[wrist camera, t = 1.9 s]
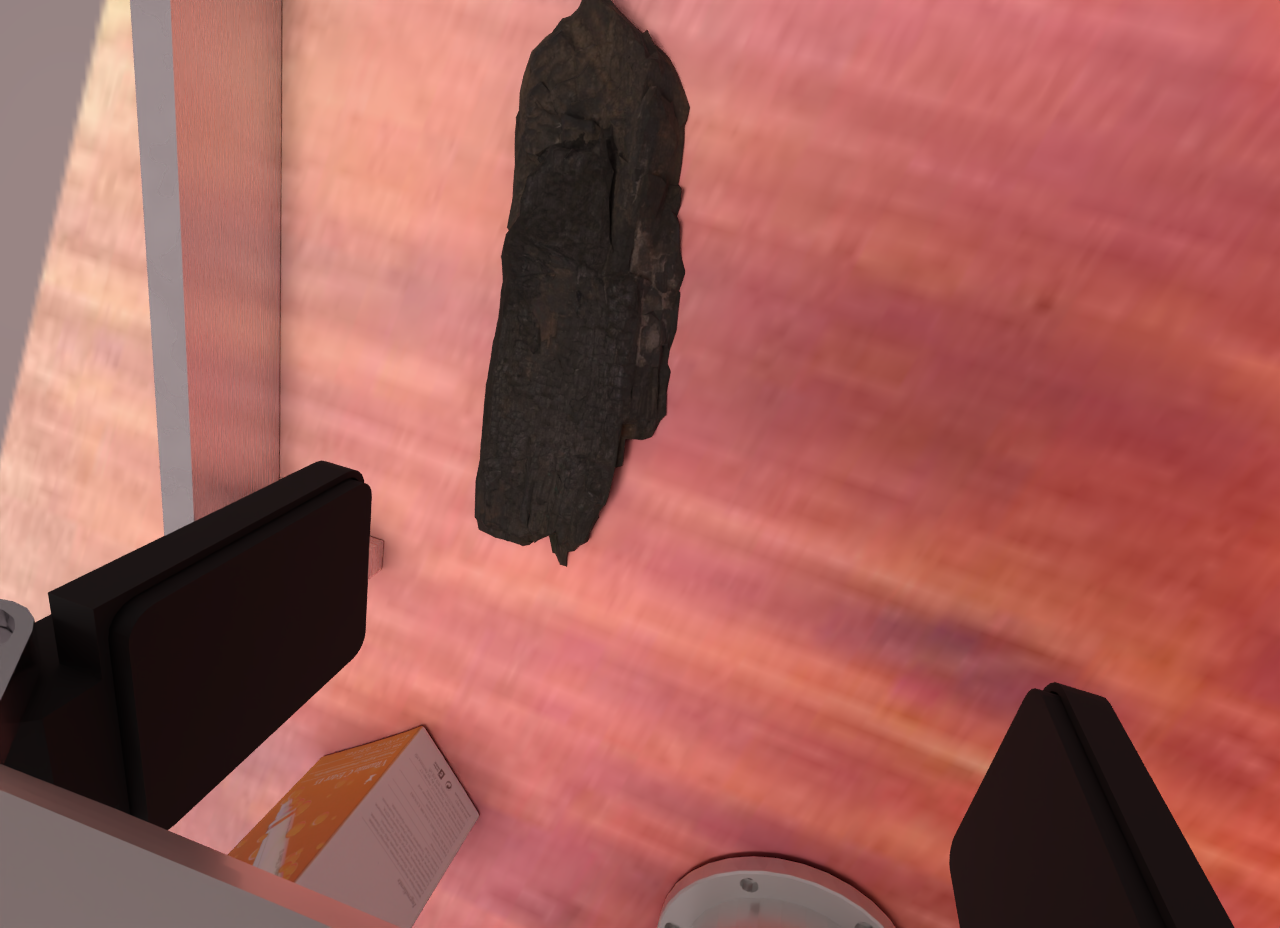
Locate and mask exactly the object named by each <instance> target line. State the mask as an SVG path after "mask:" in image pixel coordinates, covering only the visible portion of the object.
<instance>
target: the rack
mask: <svg viewBox="0 0 1280 928" xmlns="http://www.w3.org/2000/svg"><path fill="white" fill-rule="evenodd" d="M281 6H282V0H130V7H131V22H132V38H133V53H134V69H135V85H136V100H137V116H138V132H139V147H140V163H141V178H142V194H143V210H144V225H145V241H146V257H147V272H148V288H149V303H150V319H151V335H152V350H153V366H154V382H155V397H156V413H157V428H158V444H159V460H160V475H161V491H162V507H163V522H164V536H165V535H167V534H169V533H171V532H174V531H176V530H178V529H180V528H182V527H184V526H186V525H188V524H190V523H192V522H194V521H196V520H198V519H200V518H202V517H204V516H206V515H208V514H210V513H212V512H215V511H217V510H219V509H221V508H223V507H225V506H227V505H229V504H231V503H233V502H235V501H237V500H239V499H241V498H243V497H245V496H247V495H249V494H251V493H254V492H256V491H258V490H260V489H262V488H264V487H266V486H268V485H270V484H272V483H274V482H276V481H278V480H279V374H280V190H281ZM383 543H384V541H382V540H379V539H376V538H373V537H370V544H369V566H368V579H370V578H371V577H372V576H373V575H375V574H376V573H377V572H379V571H380V570H381V569H382V558H383Z"/></svg>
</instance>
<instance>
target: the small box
mask: <svg viewBox="0 0 1280 928" xmlns="http://www.w3.org/2000/svg"><path fill="white" fill-rule="evenodd" d="M478 818H479V814H478V812H477V810H476V809H475V807H474V805H473V803H472V802H471V800H470V799H469V797H468V796H467V794H466V792H465V791H464V789H463V787H462V786H461V784H460V783H459V781H458V779H457V778H456V776H455V775H454V773H453V772H452V770H451V768H450V767H449V765H448V763H447V762H446V760H445V759H444V757H443V755H442V754H441V752H440V751H439V749H438V748H437V746H436V745H435V743H434V742H433V740H432V738H431V737H430V735H429V734H428V732H427V731H426V729H425V728H424V727H423V726H420V727H417V728H415V729H412V730H410V731H407V732H404V733H401V734H398V735H395V736H392V737H389V738H385V739H382V740H379V741H376V742H373V743H369V744H366V745H363V746H359V747H355V748H352V749H348V750H345V751H341V752H338V753H334V754H331V755H327V756H323V757H322V758H321V759H320V760H319V761H318V762H317V763H316V764H315V765H314V766H313V767H312V768H311V769H310V770H309V771H308V772H307V773H306V774H305V775H304V776H303V777H302V778H301V779H300V780H299V781H298V782H297V783H296V784H295V785H294V786H293V787H292V789H291V790H290V791H289V792H288V793H287V794H286V795H285V796H284V797H283V798H282V799H281V800H280V801H279V802H278V803H277V804H276V805H275V806H274V807H273V808H272V809H271V810H270V811H269V812H268V813H267V815H266V816H265V817H264V818H263V819H262V820H261V821H260V822H259V823H258V824H257V825H256V826H255V827H254V828H253V829H252V830H251V831H250V832H249V833H248V834H247V835H246V836H245V837H244V838H243V839H242V840H241V841H240V842H239V843H238V845H237V846H236V847H235V848H234V849H233V850H232V851H231V852H230V853H229V854H228V856H231V857H233V858H235V859H238V860H240V861H243V862H245V863H247V864H250V865H252V866H255V867H257V868H260V869H262V870H264V871H267V872H269V873H272V874H274V875H276V876H279V877H281V878H284V879H286V880H289V881H291V882H293V883H296V884H298V885H301V886H303V887H305V888H308V889H310V890H313V891H315V892H317V893H320V894H322V895H325V896H327V897H330V898H332V899H334V900H337V901H339V902H341V903H344V904H346V905H349V906H351V907H353V908H356V909H358V910H361V911H363V912H365V913H368V914H370V915H372V916H375V917H377V918H380V919H382V920H384V921H387V922H389V923H391V924H394V925H396V926H399V927H401V928H412V926H413V925H414V923H415V921H416V920H417V918H418V916H419V915H420V913H421V911H422V910H423V908H424V906H425V905H426V903H427V901H428V900H429V898H430V896H431V895H432V893H433V891H434V890H435V888H436V886H437V885H438V883H439V881H440V880H441V878H442V876H443V875H444V873H445V872H446V870H447V868H448V867H449V865H450V863H451V862H452V860H453V858H454V857H455V855H456V854H457V852H458V850H459V849H460V847H461V845H462V844H463V842H464V840H465V839H466V837H467V835H468V834H469V832H470V831H471V829H472V827H473V826H474V824H475V823H476V821H477V819H478Z"/></svg>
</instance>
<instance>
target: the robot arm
mask: <svg viewBox="0 0 1280 928" xmlns="http://www.w3.org/2000/svg"><path fill="white" fill-rule="evenodd" d="M371 501H372V493H371V489H370V486H369V485H368V484H365V483H364V479H363V476H362V474H361V473H360V472H359V471H356V470H353V469H350V468H346V467H343V466H340V465H336V464H333V463H330V462H326V461H318V462H315V463H313V464H311V465H309V466H307V467H305V468H303V469H301V470H299V471H297V472H295V473H292V474H290V475H288V476H286V477H284V478H282V479H280V480H278V481H276V482H274V483H272V484H270V485H268V486H266V487H264V488H262V489H260V490H258V491H256V492H254V493H251V494H249V495H247V496H245V497H243V498H241V499H239V500H237V501H235V502H233V503H231V504H229V505H227V506H225V507H223V508H221V509H219V510H217V511H215V512H212V513H210V514H208V515H206V516H204V517H202V518H200V519H198V520H196V521H194V522H192V523H190V524H188V525H186V526H184V527H182V528H180V529H178V530H176V531H174V532H171V533H169V534H167V535H165V536H163V537H161V538H159V539H157V540H155V541H153V542H151V543H149V544H147V545H145V546H143V547H141V548H139V549H137V550H135V551H132V552H130V553H128V554H126V555H124V556H122V557H120V558H118V559H116V560H114V561H112V562H110V563H108V564H106V565H104V566H102V567H100V568H98V569H96V570H94V571H91V572H89V573H87V574H85V575H83V576H81V577H79V578H77V579H75V580H73V581H71V582H69V583H67V584H65V585H63V586H61V587H59V588H57V589H55V590H52V591H50V592H48V596H49V603H50V609H51V615H49V616H47V617H45V618H43V619H41V620H39V621H37V622H35V621H34V617H33V616H32V615H31V613H30V612H29V610H28V609H27V608H26V607H24V606H22V605H20V604H17V603H15V602H13V601H8V600H3V599H0V928H401V927H399V926H396V925H394V924H391V923H389V922H387V921H384V920H382V919H380V918H377V917H375V916H372V915H370V914H368V913H365V912H363V911H361V910H358V909H356V908H353V907H351V906H349V905H346V904H344V903H341V902H339V901H337V900H334V899H332V898H330V897H327V896H325V895H322V894H320V893H317V892H315V891H313V890H310V889H308V888H305V887H303V886H301V885H298V884H296V883H293V882H291V881H289V880H286V879H284V878H281V877H279V876H276V875H274V874H272V873H269V872H267V871H264V870H262V869H260V868H257V867H255V866H252V865H250V864H247V863H245V862H243V861H240V860H238V859H235V858H233V857H231V856H228V855H226V854H223V853H221V852H218V851H216V850H214V849H211V848H209V847H206V846H204V845H202V844H199V843H197V842H194V841H192V840H189V839H187V838H185V837H182V836H180V835H177V834H175V833H173V832H170V831H168V830H169V829H170V828H171V827H172V826H174V825H175V824H176V823H177V822H178V821H179V820H180V819H181V818H182V817H184V816H185V815H186V814H187V813H188V812H189V811H190V810H191V809H192V808H193V807H194V806H195V805H196V804H197V803H199V802H200V801H201V800H202V799H203V798H204V797H205V796H206V795H207V794H208V793H209V792H210V791H211V790H212V789H214V788H215V787H216V786H217V785H218V784H219V783H220V782H221V781H222V780H223V779H224V778H225V777H226V776H227V775H229V774H230V773H231V772H232V771H233V770H234V769H235V768H236V767H237V766H238V765H239V764H240V763H241V762H243V761H244V760H245V759H246V758H247V757H248V756H249V755H250V754H251V753H252V752H253V751H254V750H255V749H256V748H258V747H259V746H260V745H261V744H262V743H263V742H264V741H265V740H266V739H267V738H268V737H269V736H270V735H271V734H273V733H274V732H275V731H276V730H277V729H278V728H279V727H280V726H281V725H282V724H283V723H284V722H285V721H286V720H288V719H289V718H290V717H291V716H292V715H293V714H294V713H295V712H296V711H297V710H298V709H299V708H300V707H302V706H303V705H304V704H305V703H306V702H307V701H308V700H309V699H310V698H311V697H312V696H313V695H314V694H315V693H317V692H318V691H319V690H320V689H321V688H322V687H323V686H324V685H325V684H326V683H327V682H328V681H329V680H330V679H332V678H333V677H334V676H335V675H336V674H337V673H338V672H339V671H340V670H341V669H342V668H343V667H344V666H345V665H347V664H348V663H349V662H350V661H351V660H352V659H353V658H354V657H355V656H356V654H357V653H358V651H359V650H360V648H361V646H362V644H363V641H364V638H365V631H366V609H367V588H368V566H369V544H370V522H371ZM949 864H950V873H951V878H952V884H953V890H954V896H955V901H956V907H957V913H958V919H959V924H960V928H1234V926H1233V924H1232V922H1231V920H1230V919H1229V917H1228V915H1227V913H1226V911H1225V910H1224V908H1223V906H1222V904H1221V902H1220V901H1219V899H1218V897H1217V895H1216V893H1215V892H1214V890H1213V888H1212V886H1211V884H1210V883H1209V881H1208V879H1207V877H1206V875H1205V874H1204V872H1203V870H1202V868H1201V866H1200V865H1199V863H1198V861H1197V859H1196V857H1195V856H1194V854H1193V852H1192V850H1191V848H1190V847H1189V845H1188V843H1187V841H1186V839H1185V838H1184V836H1183V834H1182V832H1181V830H1180V829H1179V827H1178V825H1177V823H1176V821H1175V820H1174V818H1173V816H1172V814H1171V812H1170V811H1169V809H1168V807H1167V805H1166V803H1165V802H1164V800H1163V798H1162V796H1161V794H1160V793H1159V791H1158V789H1157V787H1156V785H1155V784H1154V782H1153V780H1152V778H1151V776H1150V775H1149V773H1148V771H1147V769H1146V767H1145V766H1144V764H1143V762H1142V760H1141V758H1140V757H1139V755H1138V753H1137V751H1136V749H1135V748H1134V746H1133V744H1132V742H1131V740H1130V739H1129V737H1128V735H1127V733H1126V731H1125V730H1124V728H1123V726H1122V724H1121V722H1120V721H1119V719H1118V717H1117V715H1116V713H1115V712H1114V710H1113V708H1112V706H1111V704H1110V703H1109V702H1108V700H1107V699H1106V698H1104V697H1102V696H1099V695H1095V694H1092V693H1089V692H1086V691H1082V690H1079V689H1076V688H1072V687H1069V686H1066V685H1062V684H1059V683H1056V682H1054V683H1050V684H1049V685H1047V686H1046V687H1045V688H1044V690H1039V689H1036V688H1034V689H1031V690H1030V691H1029V692H1028V693H1027V695H1026V696H1025V698H1024V700H1023V702H1022V704H1021V706H1020V708H1019V710H1018V712H1017V714H1016V716H1015V718H1014V720H1013V722H1012V724H1011V726H1010V728H1009V729H1008V731H1007V733H1006V735H1005V737H1004V739H1003V741H1002V743H1001V745H1000V747H999V749H998V751H997V753H996V755H995V757H994V759H993V761H992V763H991V765H990V767H989V769H988V771H987V773H986V775H985V777H984V779H983V781H982V783H981V785H980V787H979V789H978V791H977V793H976V795H975V797H974V799H973V801H972V803H971V805H970V806H969V808H968V810H967V812H966V814H965V816H964V818H963V820H962V822H961V824H960V826H959V828H958V830H957V832H956V834H955V836H954V839H953V841H952V845H951V850H950V862H949ZM657 928H895V926H894V925H893V923H892V922H891V920H890V919H889V918H888V917H887V916H886V915H885V914H884V913H883V912H882V911H881V910H880V909H879V908H878V907H877V906H876V904H875V903H874V902H873V901H871V900H870V899H869V898H867V897H866V896H865V895H863V894H862V893H861V892H859V891H858V890H856V889H855V888H854V887H852V886H851V885H849V884H847V883H845V882H843V881H842V880H840V879H838V878H836V877H834V876H832V875H830V874H829V873H826V872H824V871H821V870H818V869H816V868H813V867H810V866H808V865H805V864H802V863H797V862H793V861H788V860H784V859H779V858H770V857H757V856H750V857H736V858H728V859H724V860H720V861H716V862H712V863H708V864H706V865H704V866H702V867H700V868H697V869H695V870H693V871H691V872H690V873H688V874H687V875H686V876H685V877H683V878H682V879H681V880H680V881H678V882H677V883H676V884H675V886H674V887H673V888H672V890H671V891H670V892H669V894H668V895H667V897H666V899H665V902H664V904H663V907H662V910H661V913H660V918H659V922H658V927H657Z"/></svg>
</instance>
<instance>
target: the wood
mask: <svg viewBox="0 0 1280 928" xmlns="http://www.w3.org/2000/svg"><path fill="white" fill-rule="evenodd" d="M689 108H690V107H689V104H688V101H687V98H686V95H685V92H684V90H683V87H682V85H681V82H680V80H679V77H678V74H677V72H676V70H675V68H674V66H673V64H672V62H671V61H670V59H669V57H668V56H667V55H666V54H665V53H664V52H663V51H662V50H661V49H659V48H658V47H657V46H656V45H655V44H654V43H653V41H652V39H651V37H650V35H649V33H648V31H646V32H644V33H643V34H642V33H641V32H640V31H639V30H638V29H637V28H636V27H635V26H634V25H633V24H632V23H631V22H630V21H629V20H628V19H627V18H626V17H625V16H624V15H623V14H622V13H621V12H620V11H619V9H618V8H617V7H616V6H615V5H614V4H613V2H612V1H611V0H582V1H581V4H580V6H579V8H578V9H577V10H576V11H575V12H574V13H573V14H572V15H571V16H569V17H566V18H563V19H562V20H561V21H560V22H559V24H558V25H557V26H556V28H555V29H554V30H553V32H552V33H551V34H549V35H548V36H546V37H545V38H544V39H543V40H542V41H541V43H540V44H539V45H538V46H537V47H536V48H535V49H534V50H533V51H532V52H531V55H530V58H529V61H528V64H527V67H526V70H525V73H524V76H523V80H522V85H521V89H520V101H519V111H518V114H517V116H516V128H515V170H514V182H513V198H512V204H511V210H510V215H509V220H508V225H507V228H508V230H509V231H508V232H507V234H506V237H505V241H504V245H503V250H502V255H501V258H502V272H503V283H502V289H501V297H500V309H499V317H498V322H497V327H496V332H495V337H494V340H493V345H492V353H491V360H490V365H489V371H488V378H487V382H486V392H485V401H484V414H483V426H482V438H481V449H480V461H479V467H478V472H477V477H476V488H475V518H476V519H477V523H478V528H479V530H481V531H483V532H485V533H487V534H489V535H491V536H493V537H495V538H499V539H504V540H506V541H511V542H514V543H517V544H520V545H522V546H525V545H530V544H531V543H533V541H534V543H535V542H536V541H538V540H540V539H542V538H544V537H546V536H549V537H550V542H551V547H552V552H553V553H555V554H556V556H557V558H558V561H559V563H560V565H563V566H567V561H566V559H567V552H571V551H575V550H576V549H577V548H578V547H579V546H580V545H582V544H584V543H586V542H588V540H589V536H590V532H591V530H592V528H593V526H594V525H595V523H596V521H597V519H598V518H599V512H600V511H601V509H602V508H603V506H604V505H605V504H606V501H607V498H608V495H609V492H610V488H611V484H612V480H613V476H614V470H615V468H616V467H619V466H622V464H623V459H624V449H625V439H638V440H644V439H647V438H650V437H652V435H653V434H654V432H655V430H656V428H657V426H658V424H659V422H660V420H661V419H662V418H663V417H665V416H666V392H667V387H668V382H669V377H670V369H669V366H668V364H667V363H668V357H669V351H670V348H671V345H672V342H673V339H674V336H675V333H676V329H677V316H678V306H679V299H680V292H679V290H680V287H681V285H682V281H683V278H684V275H685V268H684V265H683V262H682V257H681V251H680V226H679V222H678V218H677V214H678V211H679V207H680V199H681V188H680V186H679V185H678V182H679V176H680V170H681V164H682V153H683V145H684V128H685V123H686V120H687V116H688V112H689Z"/></svg>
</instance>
